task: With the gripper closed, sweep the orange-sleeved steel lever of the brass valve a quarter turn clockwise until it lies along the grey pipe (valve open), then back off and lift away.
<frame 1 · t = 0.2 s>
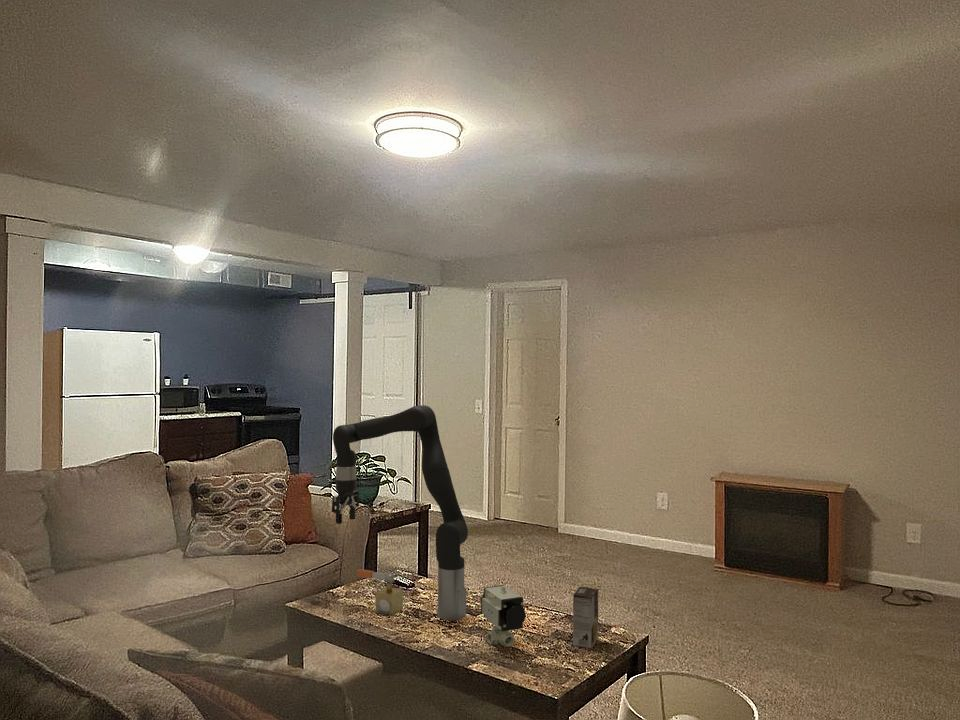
hand: (345, 521, 266), 29 cm above the table, fingers open, 8 cm apart
valve housing: (389, 610, 253), on the table
ball valve: (500, 644, 225), on the table
coffee box: (585, 642, 227), on the table
valve lever: (375, 575, 255), point 12 cm above the table, hinge at 0.0°
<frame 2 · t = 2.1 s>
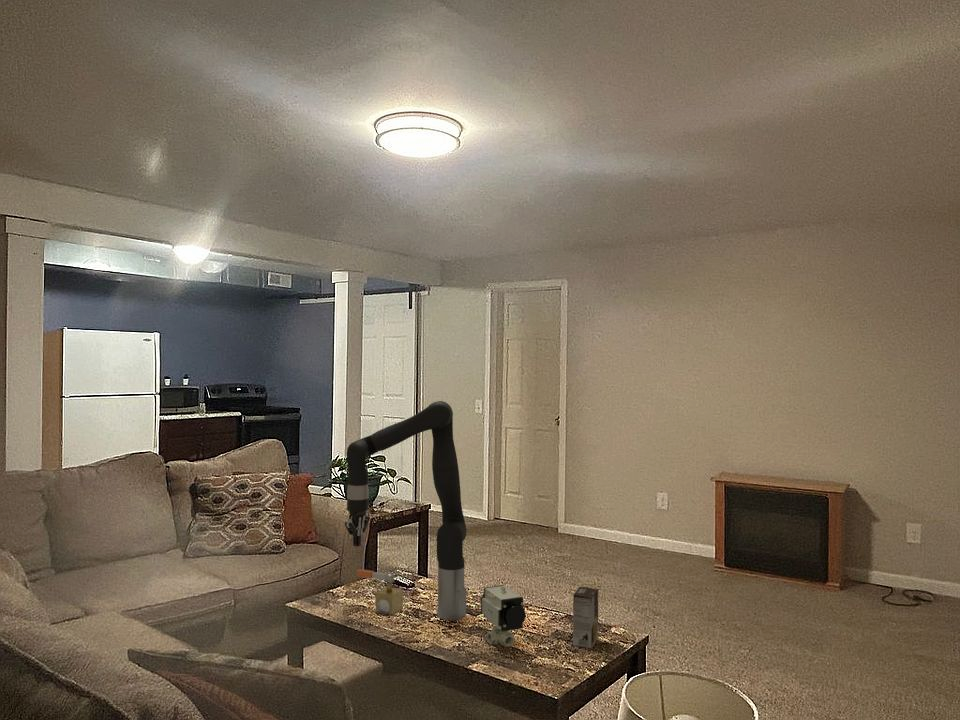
hand: (357, 545, 252), 23 cm above the table, fingers closed
nothing on the table moved.
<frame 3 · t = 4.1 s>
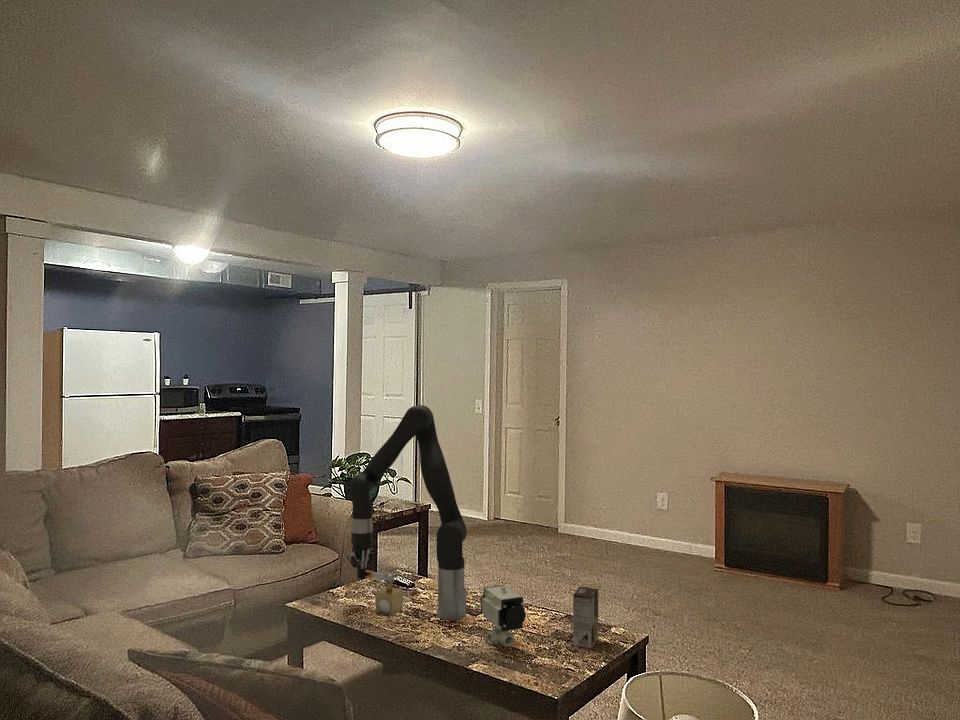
hand: (361, 578, 254), 11 cm above the table, fingers closed
valve lever: (375, 575, 255), point 12 cm above the table, hinge at 0.0°, touching gripper
everything else where it was.
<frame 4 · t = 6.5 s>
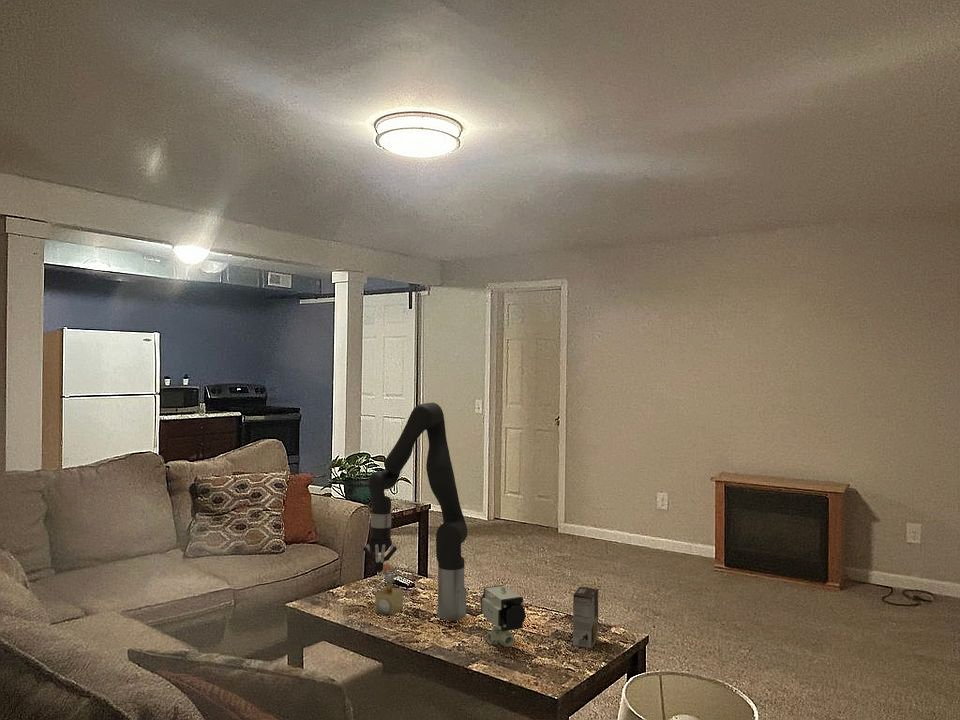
hand: (379, 571, 262), 11 cm above the table, fingers closed
valve lever: (388, 573, 258), point 12 cm above the table, hinge at 53.4°, touching gripper
everything else where it was.
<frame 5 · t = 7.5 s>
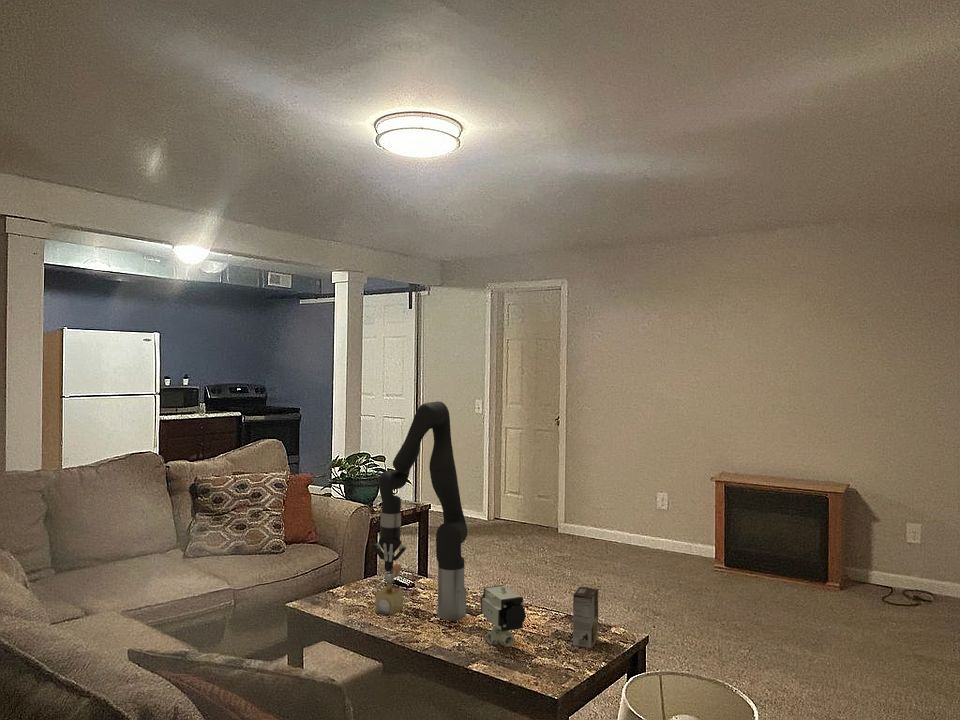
hand: (388, 570, 263), 11 cm above the table, fingers closed
valve lever: (393, 573, 259), point 12 cm above the table, hinge at 73.5°, touching gripper
everything else where it was.
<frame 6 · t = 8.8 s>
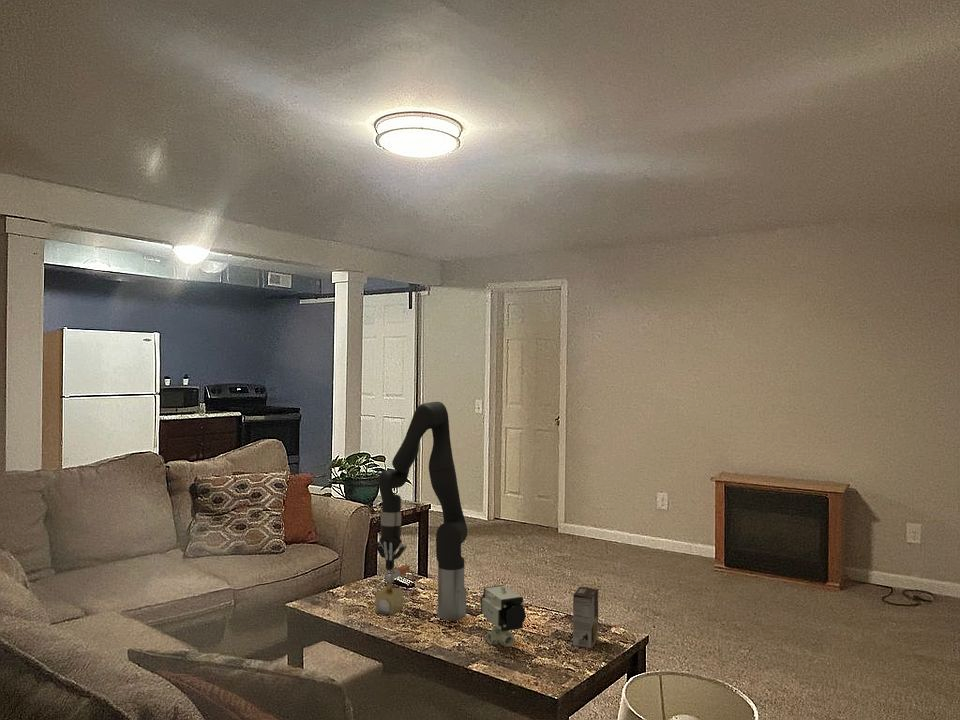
hand: (389, 569, 264), 11 cm above the table, fingers closed
valve lever: (397, 573, 258), point 12 cm above the table, hinge at 88.5°
everything else where it was.
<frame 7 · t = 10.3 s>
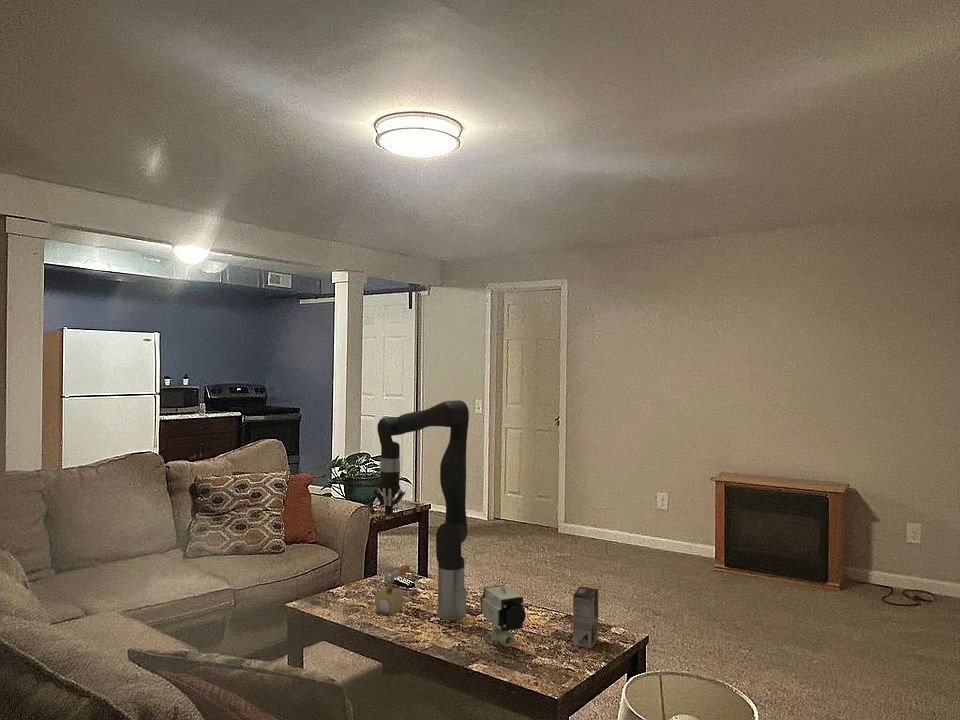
hand: (388, 515, 269), 30 cm above the table, fingers closed
nothing on the table moved.
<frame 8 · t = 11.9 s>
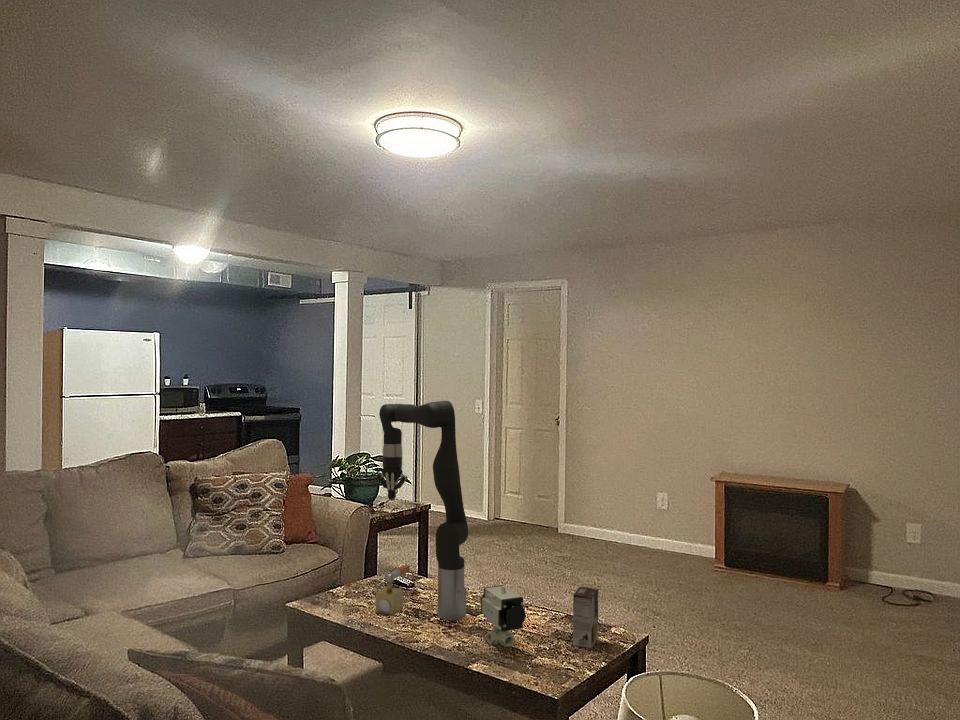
hand: (391, 499, 277), 35 cm above the table, fingers closed
nothing on the table moved.
at the end: valve lever at +88° (first picture: +0°) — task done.
